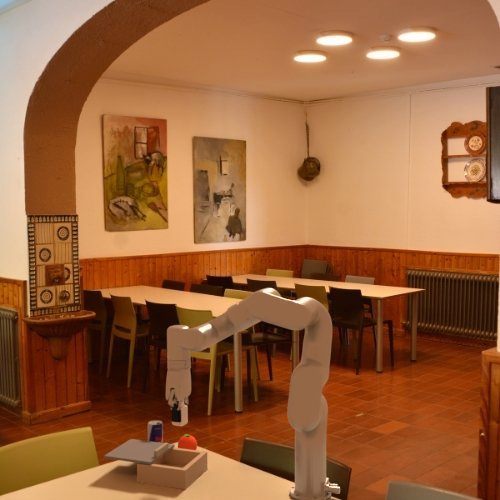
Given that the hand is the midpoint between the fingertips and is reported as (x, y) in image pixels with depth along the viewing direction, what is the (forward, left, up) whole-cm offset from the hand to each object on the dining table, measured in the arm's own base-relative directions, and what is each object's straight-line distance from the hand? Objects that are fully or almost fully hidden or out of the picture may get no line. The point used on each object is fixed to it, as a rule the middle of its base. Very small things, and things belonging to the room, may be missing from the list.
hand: (179, 418), depth 212 cm
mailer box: (+3, 0, -19) cm, 19 cm away
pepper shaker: (0, 0, -2) cm, 2 cm away
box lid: (+15, 0, -13) cm, 19 cm away
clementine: (+7, -19, -19) cm, 28 cm away
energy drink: (+17, -14, -19) cm, 29 cm away
